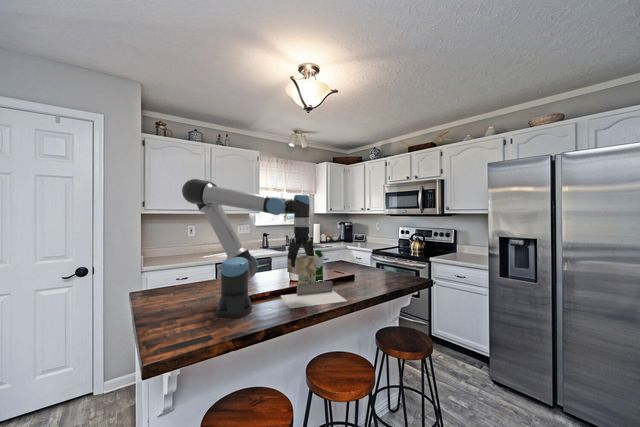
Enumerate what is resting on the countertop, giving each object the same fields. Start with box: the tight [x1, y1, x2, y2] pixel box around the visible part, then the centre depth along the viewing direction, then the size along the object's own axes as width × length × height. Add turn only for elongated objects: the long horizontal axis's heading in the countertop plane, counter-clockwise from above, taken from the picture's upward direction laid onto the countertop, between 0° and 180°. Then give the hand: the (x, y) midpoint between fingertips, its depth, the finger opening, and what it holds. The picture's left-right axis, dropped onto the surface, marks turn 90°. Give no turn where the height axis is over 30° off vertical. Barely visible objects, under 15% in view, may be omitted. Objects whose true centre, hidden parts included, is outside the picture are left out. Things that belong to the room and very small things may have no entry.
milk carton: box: [313, 249, 325, 281], centre depth 176 cm, size 9×9×20 cm
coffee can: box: [297, 273, 316, 284], centre depth 159 cm, size 10×10×14 cm
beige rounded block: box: [286, 253, 316, 276], centre depth 135 cm, size 8×12×8 cm, turn 45°
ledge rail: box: [296, 279, 333, 295], centre depth 150 cm, size 20×2×7 cm, turn 112°
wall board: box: [280, 289, 348, 309], centre depth 141 cm, size 30×19×1 cm, turn 112°
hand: (301, 272), depth 135 cm, fingers closed on beige rounded block, 8 cm apart
